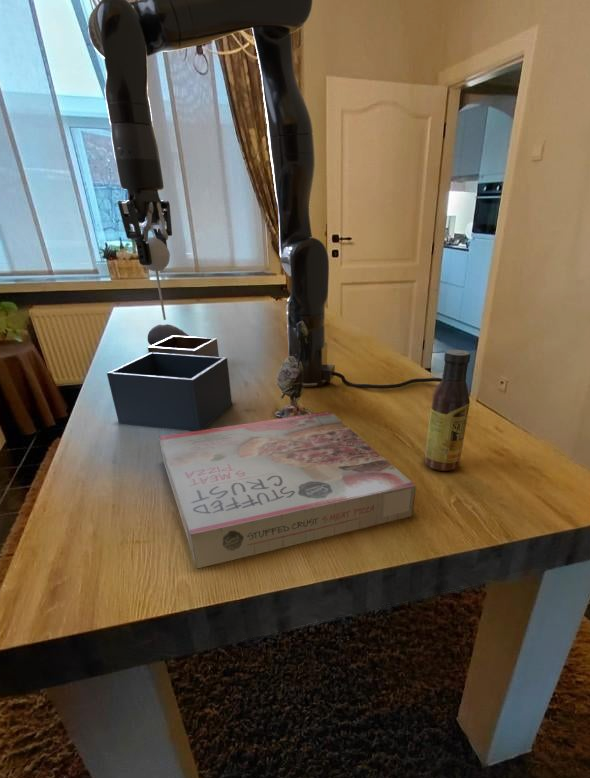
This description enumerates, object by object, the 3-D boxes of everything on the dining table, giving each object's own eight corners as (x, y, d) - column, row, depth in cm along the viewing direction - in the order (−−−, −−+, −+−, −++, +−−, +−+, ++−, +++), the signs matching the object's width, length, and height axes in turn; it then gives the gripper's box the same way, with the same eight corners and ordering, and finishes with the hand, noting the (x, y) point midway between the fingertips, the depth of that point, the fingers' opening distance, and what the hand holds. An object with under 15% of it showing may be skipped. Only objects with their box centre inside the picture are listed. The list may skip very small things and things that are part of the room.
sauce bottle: (451, 476, 85) (469, 360, 74) (418, 467, 88) (430, 353, 77) (464, 462, 90) (483, 350, 79) (432, 453, 92) (446, 345, 82)
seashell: (148, 362, 151) (142, 336, 146) (153, 340, 166) (148, 315, 161) (196, 359, 154) (191, 333, 149) (196, 337, 168) (192, 313, 163)
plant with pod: (305, 404, 114) (303, 313, 103) (316, 422, 105) (315, 324, 94) (270, 407, 112) (264, 314, 102) (278, 426, 103) (273, 326, 92)
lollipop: (185, 319, 103) (173, 237, 95) (163, 324, 99) (149, 238, 91) (165, 315, 106) (152, 235, 98) (143, 320, 102) (127, 237, 93)
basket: (219, 363, 142) (216, 338, 138) (198, 377, 131) (195, 350, 127) (176, 360, 145) (172, 335, 141) (152, 373, 133) (147, 347, 130)
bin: (232, 403, 114) (227, 357, 108) (200, 431, 100) (192, 380, 95) (159, 397, 117) (150, 352, 112) (118, 423, 104) (106, 373, 98)
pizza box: (329, 411, 96) (415, 485, 71) (329, 436, 99) (412, 516, 74) (158, 436, 85) (190, 534, 60) (164, 464, 88) (196, 568, 63)
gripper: (133, 154, 81) (153, 267, 90) (176, 160, 93) (190, 260, 102) (93, 154, 82) (116, 266, 91) (140, 160, 94) (157, 259, 103)
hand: (155, 262), depth 96 cm, fingers closed on lollipop, 6 cm apart
